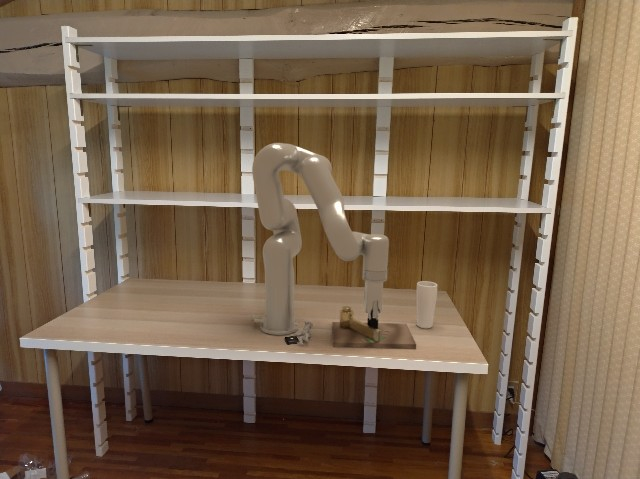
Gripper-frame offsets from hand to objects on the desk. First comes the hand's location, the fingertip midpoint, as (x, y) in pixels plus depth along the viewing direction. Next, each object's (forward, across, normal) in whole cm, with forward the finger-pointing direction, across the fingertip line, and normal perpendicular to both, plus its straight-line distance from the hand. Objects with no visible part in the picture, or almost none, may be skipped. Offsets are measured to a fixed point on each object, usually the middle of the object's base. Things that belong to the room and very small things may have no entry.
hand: (372, 330), depth 146 cm
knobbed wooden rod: (+1, -1, -4) cm, 4 cm away
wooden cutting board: (+3, -1, 0) cm, 3 cm away
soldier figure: (+3, +1, -21) cm, 21 cm away
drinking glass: (+3, -12, +19) cm, 23 cm away
